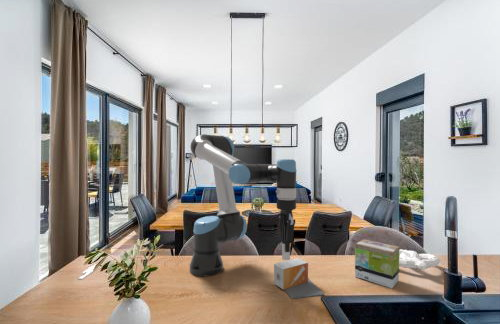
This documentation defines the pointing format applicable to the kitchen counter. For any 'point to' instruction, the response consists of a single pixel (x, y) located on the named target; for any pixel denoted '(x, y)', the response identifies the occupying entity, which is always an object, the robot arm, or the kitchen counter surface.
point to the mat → (304, 290)
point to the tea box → (377, 262)
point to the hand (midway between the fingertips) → (286, 259)
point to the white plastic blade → (87, 272)
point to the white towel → (417, 260)
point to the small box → (290, 273)
